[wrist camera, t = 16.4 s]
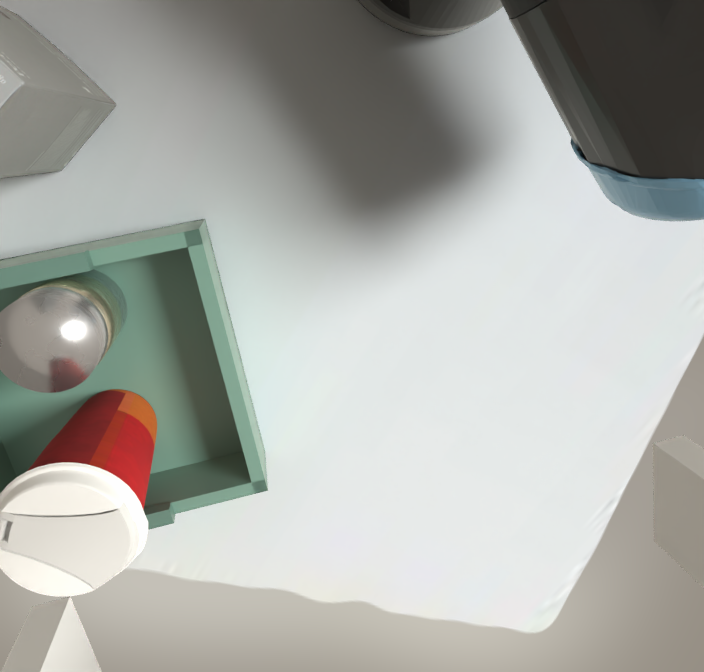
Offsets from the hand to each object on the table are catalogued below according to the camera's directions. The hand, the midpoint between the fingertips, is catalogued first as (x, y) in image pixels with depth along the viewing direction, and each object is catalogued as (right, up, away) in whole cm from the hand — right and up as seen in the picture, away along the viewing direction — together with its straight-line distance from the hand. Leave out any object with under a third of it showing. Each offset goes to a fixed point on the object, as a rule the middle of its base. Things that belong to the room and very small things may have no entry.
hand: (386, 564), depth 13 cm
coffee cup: (-19, -2, +33) cm, 39 cm away
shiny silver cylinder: (-20, +7, +30) cm, 37 cm away
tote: (-20, +2, +33) cm, 38 cm away
